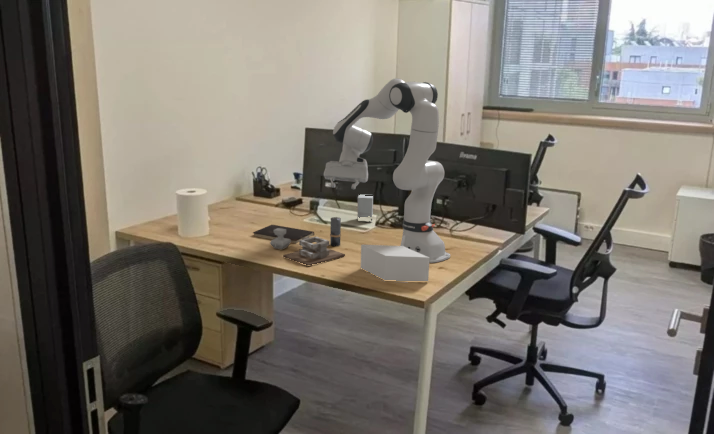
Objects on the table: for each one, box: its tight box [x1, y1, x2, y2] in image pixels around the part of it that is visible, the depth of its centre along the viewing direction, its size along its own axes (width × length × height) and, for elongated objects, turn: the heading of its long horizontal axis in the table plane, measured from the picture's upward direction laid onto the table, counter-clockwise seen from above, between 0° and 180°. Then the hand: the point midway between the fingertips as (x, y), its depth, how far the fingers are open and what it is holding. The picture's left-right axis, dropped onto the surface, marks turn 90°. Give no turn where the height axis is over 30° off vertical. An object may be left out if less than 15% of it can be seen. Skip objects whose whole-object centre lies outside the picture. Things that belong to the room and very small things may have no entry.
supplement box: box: [357, 194, 374, 218], centre depth 329 cm, size 7×7×13 cm
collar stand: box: [282, 235, 346, 265], centre depth 273 cm, size 16×20×7 cm
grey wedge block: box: [360, 244, 430, 282], centre depth 252 cm, size 14×29×10 cm, turn 60°
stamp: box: [269, 228, 292, 250], centre depth 283 cm, size 9×7×8 cm
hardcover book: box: [252, 224, 315, 244], centre depth 302 cm, size 16×23×2 cm
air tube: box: [329, 216, 342, 247], centre depth 289 cm, size 5×5×12 cm
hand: (342, 187), depth 296 cm, fingers open, 8 cm apart
